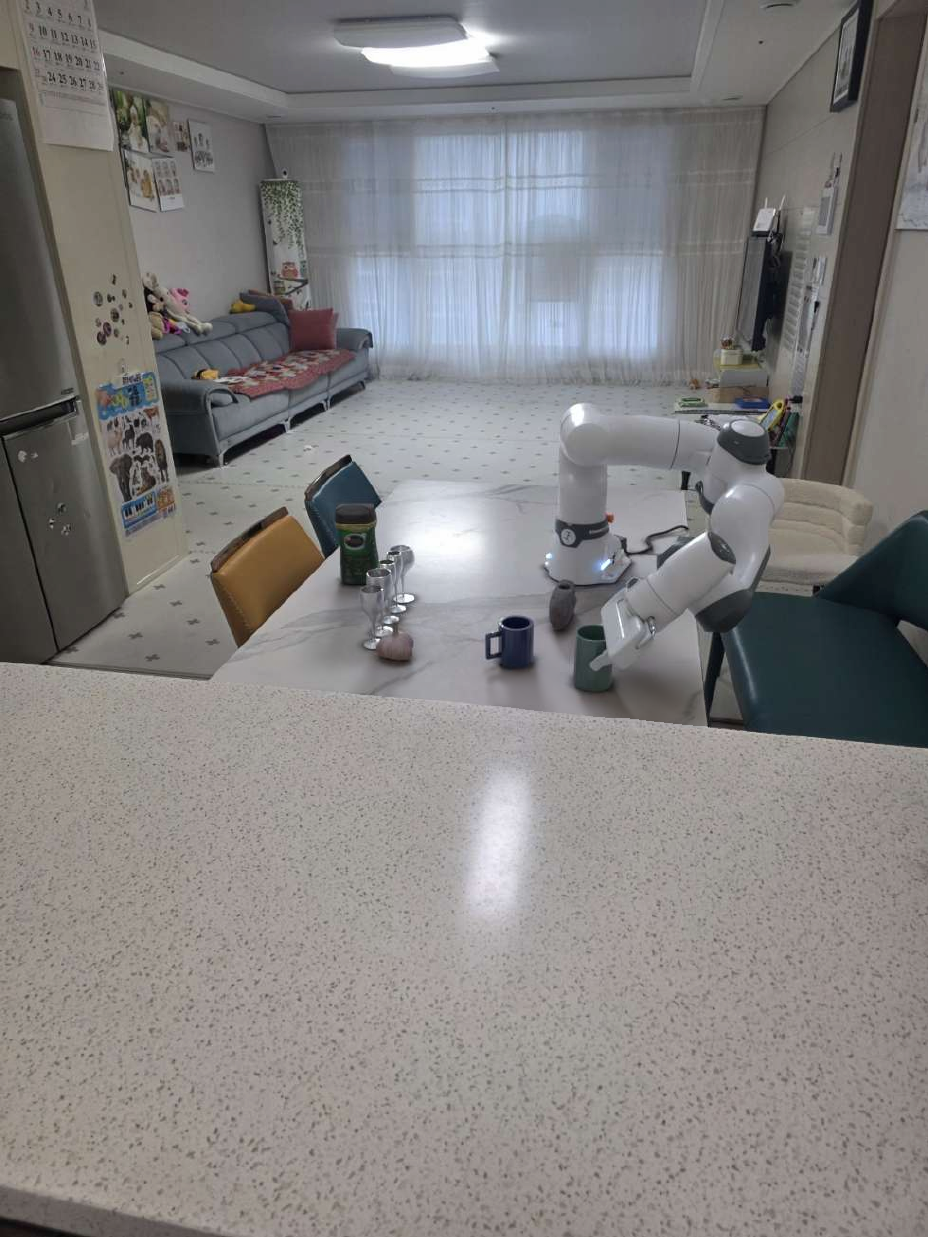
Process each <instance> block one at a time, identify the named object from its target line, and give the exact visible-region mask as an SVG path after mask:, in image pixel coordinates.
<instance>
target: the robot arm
mask: <svg viewBox="0 0 928 1237" xmlns="http://www.w3.org/2000/svg"><path fill="white" fill-rule="evenodd" d="M558 435H559V436H558V438H559V440H558V442H559V444H558V449H559V450H558V490H557V491H558V492H557V515H556V516H555V521H554V531H555V533H554V534H553V535H552V536H551V538H550V544H549V545H550V546H549V553H548V554H546V559H548V560H547V561H545V562H544V568H545V569H546V570H547V571H548V575H549V577H550V578H552V579H553V580H555V581H557V582H560V581H561V580H563V579H567V580H570V581H573V583H574V585H575V586H576V585H577V586H587V585H596V584H615V583H616V581H617V580H618V579H620V577H621V576H622V574H623V573H624V572H625V570H626V569H627V568H628V567H629V566H630V564H631V558H629V557H628V556H633V555H642V554H646V553H648V552H649V551H652V549H653V547H654V546H653V544H652V542H651V541H650V539H651V538H655V537H659V536H663V535H666V534H669V533H671V532H673V531H676V530H678V529H685V530H686V531H690V529H689V527H688V526H687V525H685V524H679V525H676V526H673V527H671V528H669V529H666V530H663V531H660V532H654V533H651V534H648V535H647V536H646V537H645V542H646V544H647V545H648V546H649V547H647V548H644V549H642V550H640V551H636V552H630V551H628V543H627V542H628V539H627V537H625V536H622V535H618V534H615V533H612V532H611V531H610V524H613V523H614V520H615V514H612V513H607V500H608V486H609V485H608V482H609V481H608V467H619V466H622V467H623V466H630V467H631V466H632V467H633V466H634V467H642V468H651V469H658V470H659V469H660V470H668V471H674V472H675V471H677V472H687V473H692V474H694V475H696V476H697V477H698V478H699V479H700V480H699V481H697V482H696V483H695V484H694V489H695V490H694V491H695V492H697V494H698V500H699V504H700V506H701V508H702V509H703V511H704V512H705V513H706V515H708V516H709V517H710V525H711V526H710V527H711V529H712V531H709V530H708V531H705V532H703V533H701V534H699V535H698V536H696V537H695V536H687V535H685V536H683V535H682V536H681V535H680V536H678V537H677V538H676V540H675V541H674V542H673V543H671V545H669V546H667V548H666V549H665V550H663V551H662V552H660V553H659V554H657V555H656V570H655V571H654V572H651V573H649V574H647V575H646V576H645V577H643V578H640V577H638V576H634V575H633V576H632V577H631V578H629V579H628V580H627V581H626V584H625V585H626V586H625V587H623V588H621V589H620V590H618V592H616V593H615V594H614V595H613V596H612V597H611V598H610V599H609V600H608V601H607V602H606V603H605V604H604V605H603V607H602V608H601V610H600V616H601V623H600V624H599V625H603V629H604V635H605V639H606V647H607V649H606V650H605V651H604V652H603V654H601V655H600V656H598V657H597V656H595V657H593V658H592V659H591V660H590V661H589V664H590V667H591V668H592V669H593V670H594V671H597V670H599V669H600V668H601V667H603V666H605V665H608V664H612V663H613V665H614V666H615V667H616V668H618V670H621V671H623V670H626V669H628V668H630V667H631V666H632V665H633V664H634V663H636V662H637V661H638V660H639V659H640V658H641V657H642V656H643V655H645V653H647V651H648V650H649V649H650V648H651V647H652V645H653V643H654V637H655V635H656V634H657V633H660V632H663V630H664V629H666V628H667V627H668V626H670V625H671V624H672V623H673V622H674V621H676V620H677V619H679V617H680V616H682V615H683V614H684V613H685V611H686V610H688V611H689V612H690V613H691V614H692V615H693V616H694V618H695V620H696V622H697V623H698V624H699V625H700V627H701V628H702V629H703V631H706V632H711V633H717V634H725V633H728V632H730V631H732V630H734V629H735V628H736V627H737V626H739V625H740V624H741V623H742V622H743V621H744V620H745V619H746V617H747V616H748V614H749V613H750V611H751V609H752V606H753V598H754V595H755V592H756V590H757V588H758V586H759V583H760V581H761V579H762V577H763V574H764V573H765V570H766V567H767V565H768V562H769V560H770V557H771V553H772V549H771V545H770V537H769V536H770V527H771V525H772V524H773V523H774V522H775V520H776V519H777V518H778V516H779V513H780V512H781V510H782V508H783V505H784V502H785V500H786V499H785V498H786V491H785V490H786V489H785V487H784V484H783V483H782V482H781V480H780V478H778V477H776V476H775V475H774V474H771V473H769V472H768V471H767V469H766V467H767V463H768V461H770V460H772V452H771V449H770V448H771V439H770V435H769V432H768V431H767V429H766V428H765V426H763V425H762V424H760V423H758V422H756V421H754V420H751V419H744V418H738V419H734V420H730V421H728V422H726V423H725V424H724V425H723V426H722V428H721V429H720V430H718V428H715V427H712V426H709V425H706V424H703V423H700V422H695V421H691V420H686V419H680V418H671V417H664V416H663V417H662V416H655V415H647V414H646V415H645V414H637V415H611V414H609V415H608V414H605V412H604V411H603V409H601V407H599V406H598V405H595V404H593V403H589V402H579V403H576V404H574V405H573V406H570V407H569V408H568V409H567V410H566V411H565V412H564V413H563V415H562V417H561V420H560V422H559V434H558ZM622 550H623V553H624V554H625V555H627V556H625V555H623V554H622ZM732 571H733V572H732ZM731 572H732V573H731Z"/></svg>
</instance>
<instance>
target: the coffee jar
mask: <svg viewBox="0 0 928 1237" xmlns="http://www.w3.org/2000/svg"><path fill="white" fill-rule="evenodd" d="M335 508H336V509H335V512H334V526H335V528H336V530H337V534H338V539H339V540H338V541H339V578H340V581H341V582H342V583H343V584H348V585H364V584H365V585H367V583H366V579H367V573H368V572H369V571H371V570H374V569H378V566H379V561H380V557H379V551H378V546H377V539H376V527H377V524H378V516H377V512H376V507H375V505H374V503H371V502H370V503H339V504H338V505H337V506H336V507H335Z"/></svg>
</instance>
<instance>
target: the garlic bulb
mask: <svg viewBox="0 0 928 1237" xmlns="http://www.w3.org/2000/svg"><path fill="white" fill-rule="evenodd" d="M398 623H399V621H397V620H392V624H391V626H392V627H391V628H392V629H393V633H391V634H389V635H385V636H383V637H379V639H380V640H379V641H378V643H377V645H376V649H375V652H376V654H377V655H378V656H379V657H383V658H385V659H390V660H395V661H408V660H410V659H411V658H412V656H413V648H414V638H413V637H412V635H410V634H409V633H407V632H405V631H402V630H399V624H398Z"/></svg>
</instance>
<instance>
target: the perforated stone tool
mask: <svg viewBox="0 0 928 1237" xmlns="http://www.w3.org/2000/svg"><path fill="white" fill-rule="evenodd" d="M576 593H577V591H576V584H574V583H573V581H570V580H567V579H563V580H561V581H558V583H557V584H556V586H555V587H554V589H553V591H552V594H551V596H550V599H549V604H548V615H549V616H548V617H549V622H550V625H551V626H552V628H553V629H554V630H555V631H561V630H562V629H564V628H565V627H566V626H567V625H569V622H570V620H571V618H572V617H573V614H574V611H575V609H576V606H577V602H578V599H577V596H576Z"/></svg>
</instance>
